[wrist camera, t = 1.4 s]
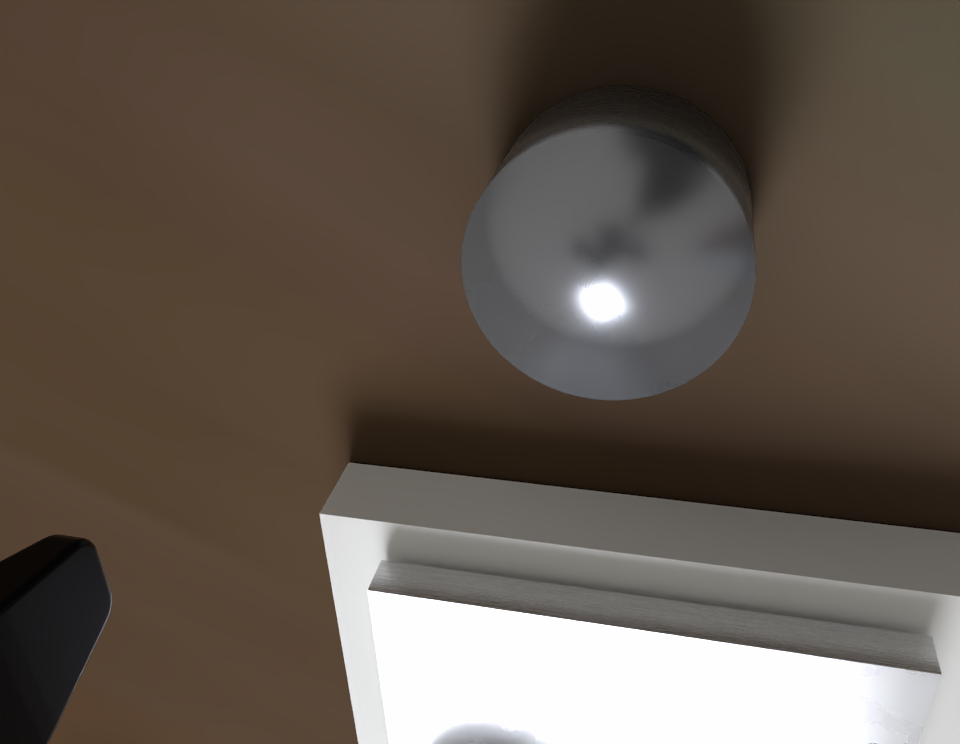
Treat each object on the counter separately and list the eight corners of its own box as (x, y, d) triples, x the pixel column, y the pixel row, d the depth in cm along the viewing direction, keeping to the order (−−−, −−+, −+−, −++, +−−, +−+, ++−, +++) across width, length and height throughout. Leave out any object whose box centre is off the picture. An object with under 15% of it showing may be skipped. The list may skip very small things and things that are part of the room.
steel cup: (767, 86, 16) (774, 138, 14) (736, 332, 19) (737, 412, 16) (493, 81, 17) (453, 128, 15) (500, 314, 20) (467, 387, 17)
